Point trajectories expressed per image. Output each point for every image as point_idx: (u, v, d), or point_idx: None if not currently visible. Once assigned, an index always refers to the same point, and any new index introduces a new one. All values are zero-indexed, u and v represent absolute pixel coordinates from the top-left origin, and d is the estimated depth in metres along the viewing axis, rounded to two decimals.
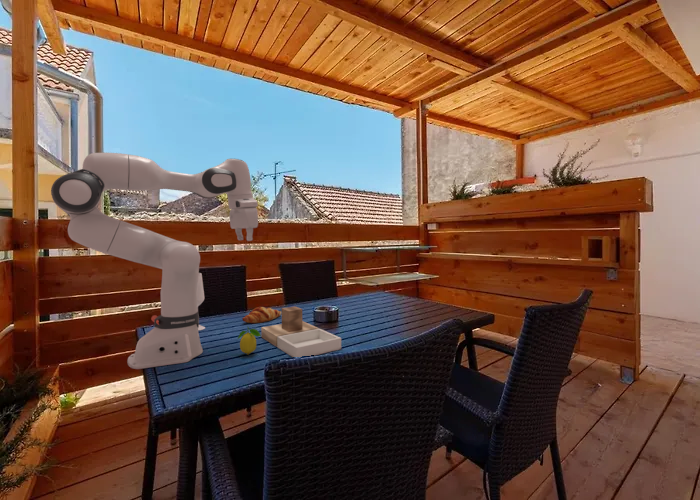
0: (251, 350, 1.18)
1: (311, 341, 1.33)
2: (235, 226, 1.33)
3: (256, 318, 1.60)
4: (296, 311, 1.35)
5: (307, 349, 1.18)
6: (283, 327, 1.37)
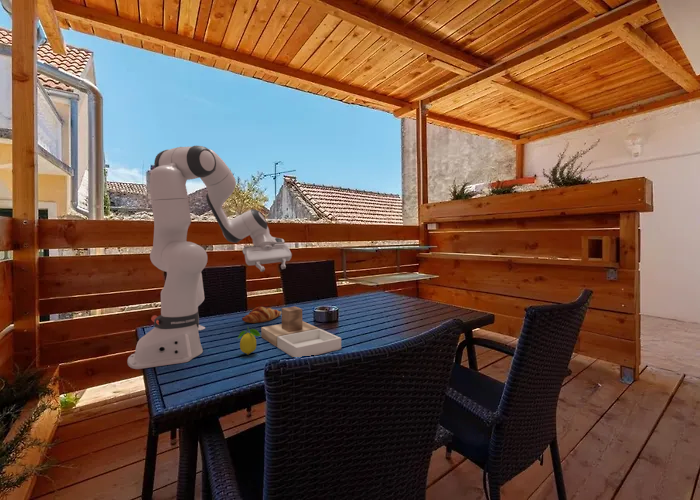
0: (251, 350, 1.18)
1: (311, 341, 1.33)
2: (262, 257, 1.50)
3: (256, 318, 1.60)
4: (296, 311, 1.35)
5: (307, 349, 1.18)
6: (283, 327, 1.37)
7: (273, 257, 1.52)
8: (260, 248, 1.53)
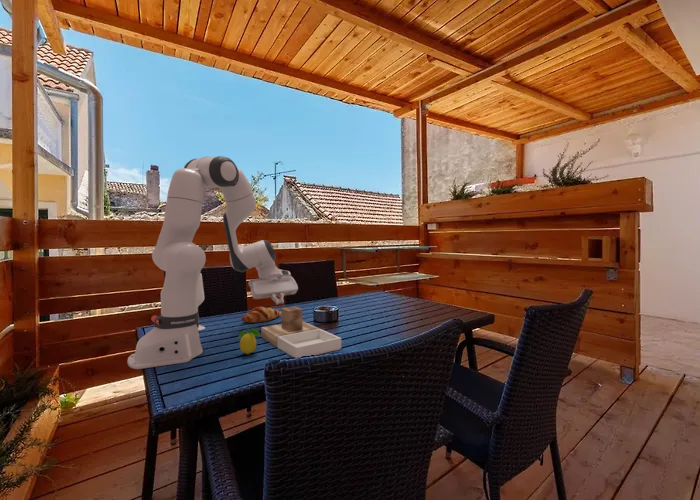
0: (251, 350, 1.18)
1: (311, 341, 1.33)
2: (269, 291, 1.46)
3: (255, 318, 1.60)
4: (296, 311, 1.35)
5: (307, 349, 1.18)
6: (283, 327, 1.37)
7: (280, 290, 1.48)
8: (266, 281, 1.49)
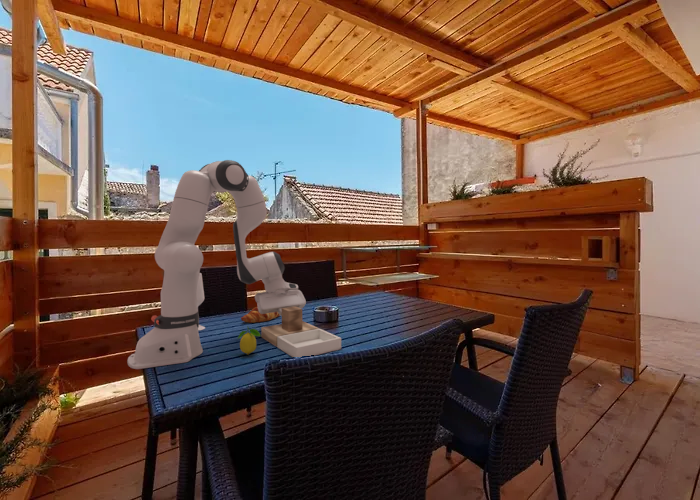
0: (251, 350, 1.18)
1: (311, 341, 1.33)
2: (276, 305, 1.40)
3: (255, 318, 1.61)
4: (296, 311, 1.35)
5: (307, 349, 1.18)
6: (283, 327, 1.37)
7: (287, 305, 1.43)
8: (273, 295, 1.43)
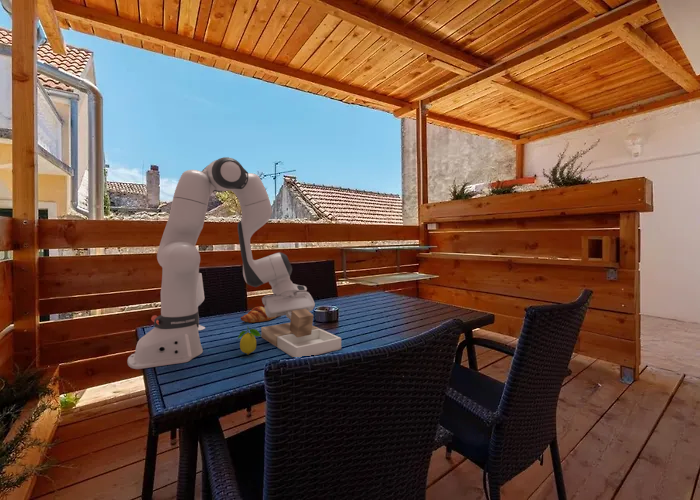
0: (251, 350, 1.18)
1: (311, 341, 1.33)
2: (284, 308, 1.34)
3: (254, 318, 1.61)
4: (307, 317, 1.29)
5: (307, 349, 1.18)
6: (291, 330, 1.32)
7: (296, 308, 1.37)
8: (281, 297, 1.37)
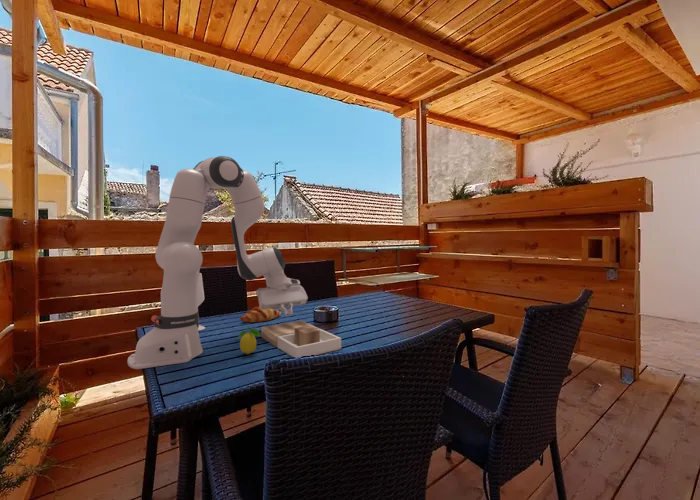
0: (251, 350, 1.18)
1: None
2: (278, 301, 1.39)
3: (254, 318, 1.61)
4: None
5: (307, 349, 1.18)
6: (295, 332, 1.29)
7: (289, 300, 1.41)
8: (275, 290, 1.42)
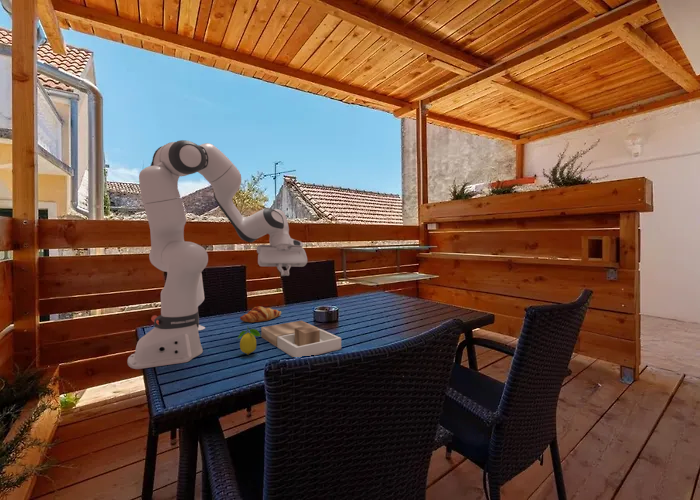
0: (251, 350, 1.18)
1: None
2: (276, 260, 1.40)
3: (254, 318, 1.61)
4: None
5: (307, 349, 1.18)
6: (295, 332, 1.29)
7: (287, 262, 1.42)
8: (275, 249, 1.42)
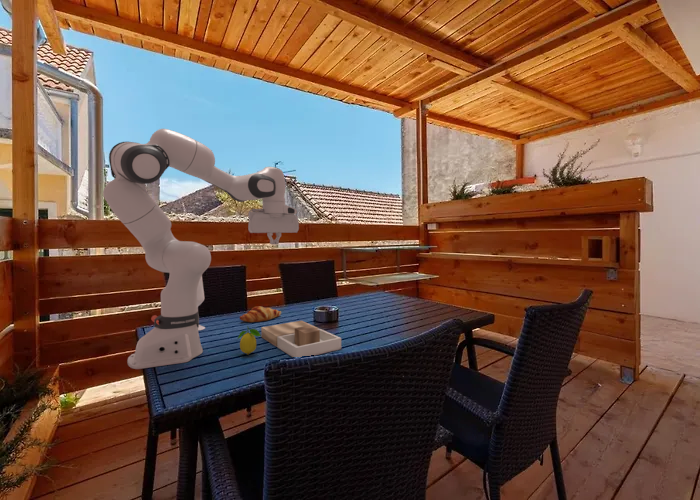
0: (251, 350, 1.18)
1: None
2: (267, 230, 1.35)
3: (253, 318, 1.61)
4: None
5: (307, 349, 1.18)
6: (295, 332, 1.29)
7: (278, 231, 1.38)
8: (268, 216, 1.35)
